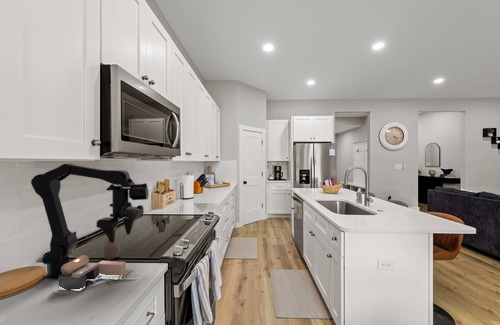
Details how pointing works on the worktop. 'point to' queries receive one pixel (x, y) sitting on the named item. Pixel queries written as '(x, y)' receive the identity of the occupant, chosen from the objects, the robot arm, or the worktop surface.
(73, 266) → the dispenser
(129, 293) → the worktop surface
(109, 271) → the salmon pink rectangular block
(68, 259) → the robot arm
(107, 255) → the vase
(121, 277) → the mat
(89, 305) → the worktop surface
